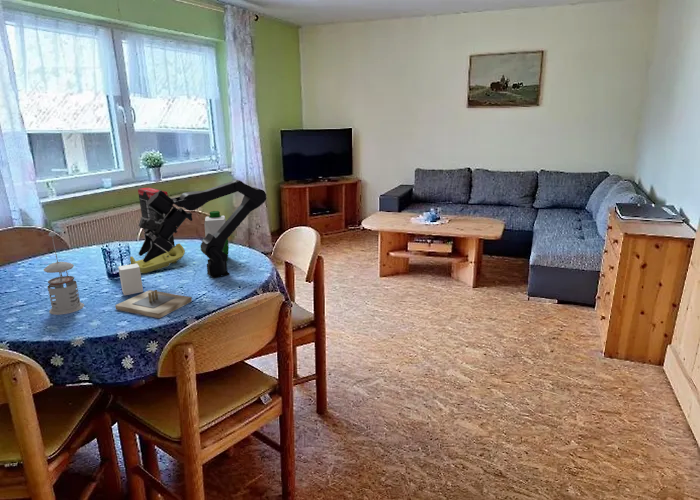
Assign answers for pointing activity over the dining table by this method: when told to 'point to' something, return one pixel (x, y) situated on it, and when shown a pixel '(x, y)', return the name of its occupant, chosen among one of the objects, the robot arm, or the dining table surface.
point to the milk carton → (215, 226)
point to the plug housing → (130, 279)
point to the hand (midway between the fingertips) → (141, 258)
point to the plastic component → (160, 260)
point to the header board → (153, 303)
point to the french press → (62, 288)
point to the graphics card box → (148, 211)
